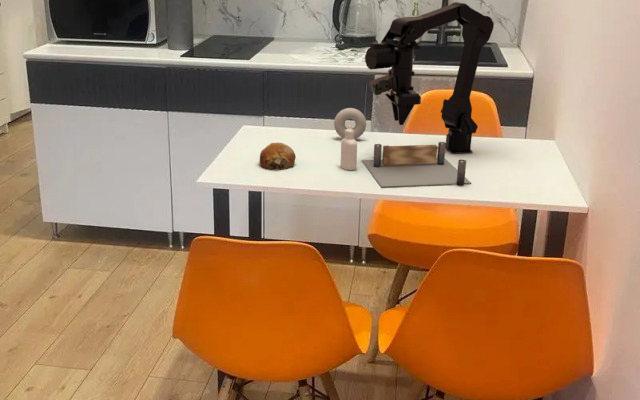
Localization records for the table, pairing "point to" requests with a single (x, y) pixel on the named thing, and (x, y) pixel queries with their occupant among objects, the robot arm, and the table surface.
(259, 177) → the table surface
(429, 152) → the gate
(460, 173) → the gate posts
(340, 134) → the donut
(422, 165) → the mat
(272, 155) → the bread roll
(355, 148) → the eye dropper bottle
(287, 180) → the table surface
